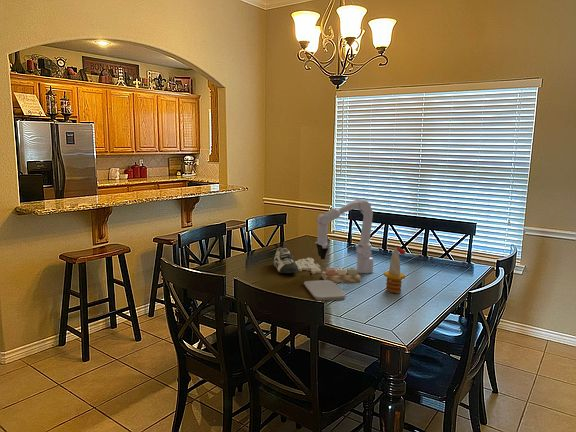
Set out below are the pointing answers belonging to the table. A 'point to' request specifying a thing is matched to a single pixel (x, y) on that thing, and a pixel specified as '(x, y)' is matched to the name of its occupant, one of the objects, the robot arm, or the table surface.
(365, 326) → the table surface
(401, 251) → the toy
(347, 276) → the button board
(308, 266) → the decorative sign
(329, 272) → the button
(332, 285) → the tablet
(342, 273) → the cream studded block
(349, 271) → the button
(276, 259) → the training shoe
